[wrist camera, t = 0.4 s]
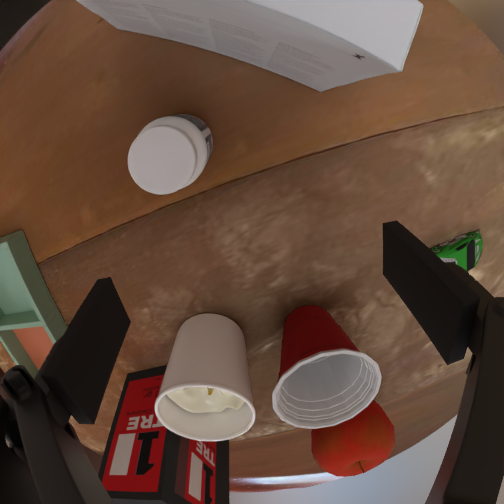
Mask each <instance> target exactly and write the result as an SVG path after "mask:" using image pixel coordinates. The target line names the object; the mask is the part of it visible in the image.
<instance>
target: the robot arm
mask: <svg viewBox="0 0 504 504" xmlns="http://www.w3.org/2000/svg"><path fill="white" fill-rule="evenodd" d="M383 275H384V276H385V277H386V279H387V280H388V281H389V283H390V284H391V285H392V287H393V288H394V289H395V291H396V292H397V293H398V295H399V296H400V297H401V299H402V300H403V302H404V303H405V304H406V306H407V307H408V308H409V310H410V311H411V313H412V314H413V315H414V317H415V318H416V320H417V321H418V322H419V324H420V325H421V327H422V328H423V330H424V331H425V333H426V334H427V335H428V337H429V338H430V340H431V341H432V343H433V344H434V346H435V347H436V349H437V350H438V352H439V353H440V355H441V356H442V358H443V359H444V361H445V362H446V364H447V365H449V364H451V363H454V362H456V361H459V360H461V359H464V356H465V353H466V350H467V347H468V348H469V349H470V350H471V352H472V353H473V354H472V357H471V360H470V363H469V365H468V368H467V371H466V374H468V375H467V379H466V384H465V388H464V392H463V396H462V400H461V404H460V408H459V412H458V415H457V419H456V422H455V426H454V429H453V432H452V435H451V439H450V441H449V444H448V448H447V451H446V453H445V456H444V459H443V462H442V464H441V467H440V470H439V472H438V475H437V477H436V480H435V482H434V484H433V487H432V489H431V491H430V494H429V496H428V498H427V500H426V503H425V504H496V501H497V497H498V494H499V490H500V487H501V483H502V479H503V476H504V297H496V298H494V297H493V296H492V295H491V294H490V293H489V292H488V291H487V290H486V289H485V288H484V287H483V286H482V285H481V284H480V283H479V282H478V281H475V279H474V278H473V277H472V276H471V275H469V273H468V272H467V271H466V270H465V269H464V268H462V267H461V266H459V265H457V264H454V263H452V262H450V263H447V264H446V263H444V262H443V261H442V260H441V259H440V258H439V257H438V256H437V255H436V254H435V253H434V252H432V251H431V250H430V249H429V248H428V247H427V246H426V245H425V244H424V243H422V242H421V241H420V240H419V239H418V238H417V237H416V236H414V235H413V234H412V233H411V232H410V231H409V230H407V229H406V228H405V227H404V226H403V225H401V224H400V223H399V222H398V221H392V222H387V223H383ZM130 322H131V321H130V319H129V317H128V315H127V313H126V311H125V309H124V306H123V304H122V302H121V300H120V298H119V295H118V293H117V291H116V289H115V286H114V284H113V282H112V279H111V277H108V278H103V279H98V280H97V281H96V283H95V285H94V286H93V288H92V289H91V291H90V292H89V294H88V295H87V297H86V298H85V300H84V302H83V303H82V305H81V306H80V308H79V310H78V311H77V313H76V315H75V316H74V318H73V319H72V321H71V323H70V324H69V326H68V328H67V329H66V331H65V333H64V335H63V336H61V337H60V338H59V339H58V340H57V341H56V342H55V343H54V345H53V346H52V348H51V350H50V352H49V354H48V355H47V357H46V360H45V361H44V362H43V364H42V366H41V368H40V370H39V371H38V373H37V375H36V377H35V379H33V377H32V376H31V375H30V373H29V372H28V370H27V369H26V368H25V366H23V365H17V366H14V367H12V368H11V369H9V370H8V371H7V372H6V373H5V374H4V376H3V378H2V380H1V385H2V387H3V388H4V389H5V390H6V392H7V393H8V394H9V395H10V396H11V398H9V399H5V400H4V398H3V397H2V396H1V395H0V504H114V502H113V501H112V499H111V498H110V496H109V494H108V493H107V491H106V489H105V488H104V486H103V484H102V482H101V481H100V479H99V477H98V475H97V474H96V472H95V470H94V468H93V466H92V465H91V462H90V461H89V459H88V457H87V455H86V453H85V451H84V449H83V447H82V445H81V443H80V441H79V438H78V436H77V434H76V432H75V430H74V428H73V426H72V425H71V424H70V423H69V419H70V416H71V415H72V416H73V417H74V419H75V420H76V421H77V422H78V423H79V424H94V423H95V420H96V417H97V414H98V411H99V408H100V405H101V402H102V399H103V396H104V393H105V390H106V387H107V384H108V381H109V378H110V376H111V373H112V370H113V367H114V364H115V362H116V359H117V356H118V354H119V351H120V348H121V346H122V343H123V340H124V338H125V335H126V333H127V330H128V328H129V325H130ZM5 438H6V439H7V440H8V441H9V442H10V447H8V446H7V444H6V440H5Z"/></svg>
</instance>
